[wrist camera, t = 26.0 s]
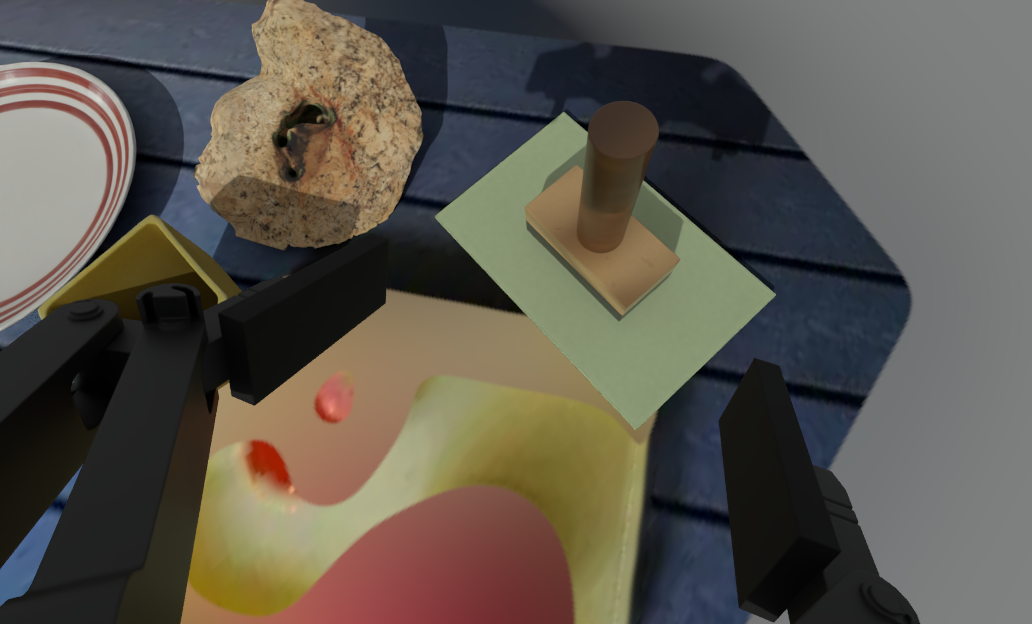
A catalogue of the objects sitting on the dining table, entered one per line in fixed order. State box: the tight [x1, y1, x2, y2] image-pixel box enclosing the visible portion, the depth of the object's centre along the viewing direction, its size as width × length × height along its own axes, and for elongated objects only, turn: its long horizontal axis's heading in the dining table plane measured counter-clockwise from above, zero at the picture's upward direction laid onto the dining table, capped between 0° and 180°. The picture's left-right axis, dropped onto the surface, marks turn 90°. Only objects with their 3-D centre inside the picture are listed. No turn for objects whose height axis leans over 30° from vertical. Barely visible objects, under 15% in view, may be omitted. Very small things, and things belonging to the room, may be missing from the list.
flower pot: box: [38, 215, 242, 390], centre depth 31 cm, size 9×9×9 cm
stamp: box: [525, 101, 680, 321], centre depth 28 cm, size 10×5×14 cm, turn 41°
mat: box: [435, 112, 776, 430], centre depth 35 cm, size 22×14×1 cm, turn 42°
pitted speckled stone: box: [194, 0, 424, 251], centre depth 37 cm, size 18×14×8 cm
